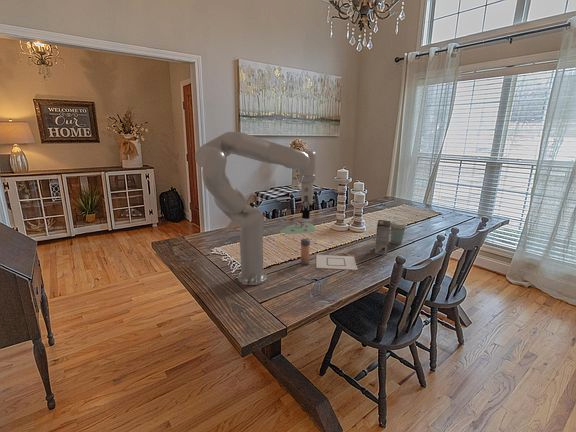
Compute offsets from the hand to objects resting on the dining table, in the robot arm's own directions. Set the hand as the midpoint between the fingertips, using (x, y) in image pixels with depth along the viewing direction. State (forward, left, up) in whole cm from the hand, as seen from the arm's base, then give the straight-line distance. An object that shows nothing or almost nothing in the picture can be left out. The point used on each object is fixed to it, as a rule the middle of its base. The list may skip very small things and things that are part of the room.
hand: (306, 215), depth 141 cm
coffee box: (+20, -40, -24) cm, 51 cm away
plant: (+52, +7, -25) cm, 58 cm away
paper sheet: (+3, -15, -24) cm, 29 cm away
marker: (0, 0, -24) cm, 24 cm away
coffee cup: (+34, -51, -24) cm, 66 cm away
